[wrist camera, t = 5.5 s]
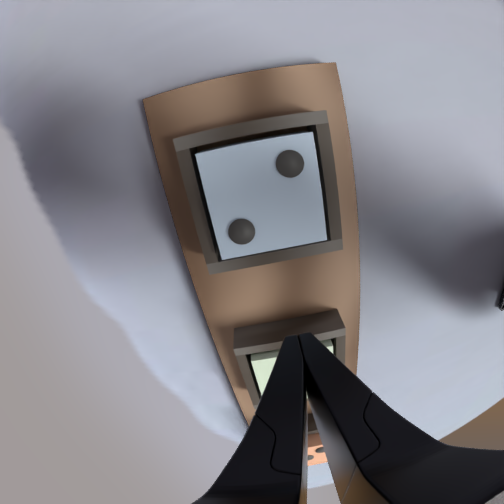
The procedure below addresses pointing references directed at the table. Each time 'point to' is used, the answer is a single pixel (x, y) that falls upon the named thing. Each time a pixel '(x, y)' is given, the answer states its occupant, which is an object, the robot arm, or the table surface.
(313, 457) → the tile
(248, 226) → the tile
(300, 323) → the board
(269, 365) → the tile
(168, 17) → the table surface
